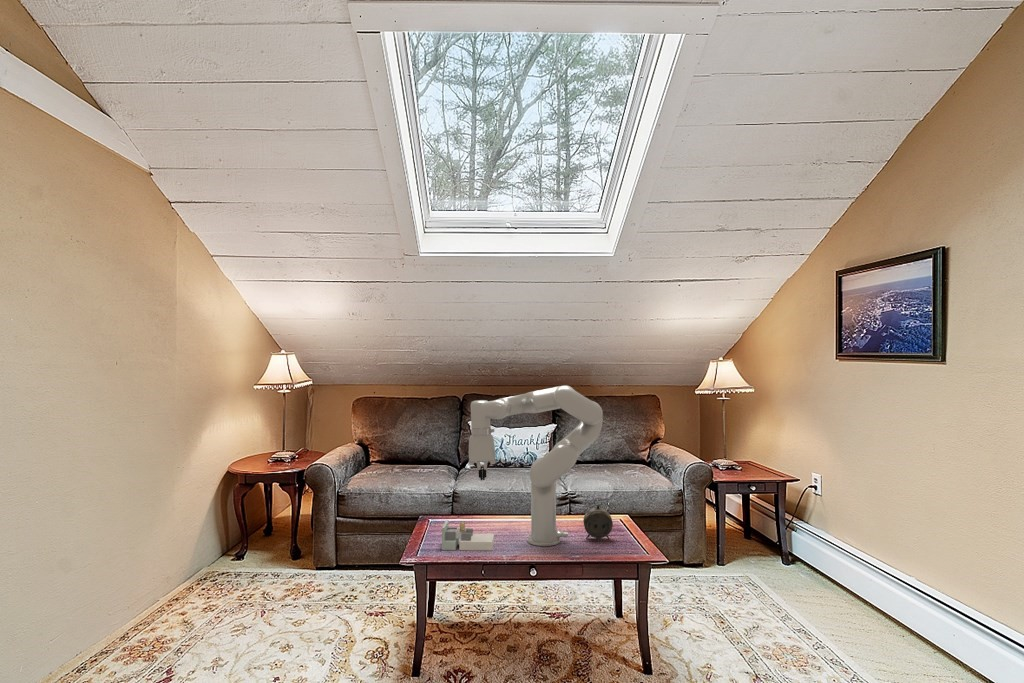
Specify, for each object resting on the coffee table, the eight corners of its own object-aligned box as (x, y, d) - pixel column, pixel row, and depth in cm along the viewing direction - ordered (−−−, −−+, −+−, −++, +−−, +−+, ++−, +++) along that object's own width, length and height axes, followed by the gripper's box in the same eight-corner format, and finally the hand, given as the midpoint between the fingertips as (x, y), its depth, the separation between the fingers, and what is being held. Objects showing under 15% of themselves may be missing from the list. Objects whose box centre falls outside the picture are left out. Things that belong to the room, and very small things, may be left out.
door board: (494, 541, 214) (494, 527, 214) (492, 550, 204) (492, 535, 204) (462, 541, 214) (462, 527, 215) (459, 550, 204) (459, 534, 205)
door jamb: (459, 541, 214) (458, 520, 215) (455, 550, 204) (455, 528, 205) (446, 541, 215) (446, 520, 215) (441, 550, 205) (441, 527, 205)
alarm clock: (611, 538, 218) (611, 496, 218) (613, 542, 212) (612, 499, 213) (583, 537, 218) (583, 495, 219) (584, 542, 213) (584, 499, 214)
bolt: (466, 535, 211) (466, 520, 212) (465, 538, 207) (465, 523, 208) (448, 535, 212) (448, 520, 212) (446, 538, 208) (446, 523, 208)
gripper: (500, 430, 222) (501, 477, 221) (462, 431, 222) (464, 478, 221) (500, 432, 215) (501, 480, 214) (461, 434, 215) (462, 482, 214)
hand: (482, 479), depth 218 cm, fingers closed
